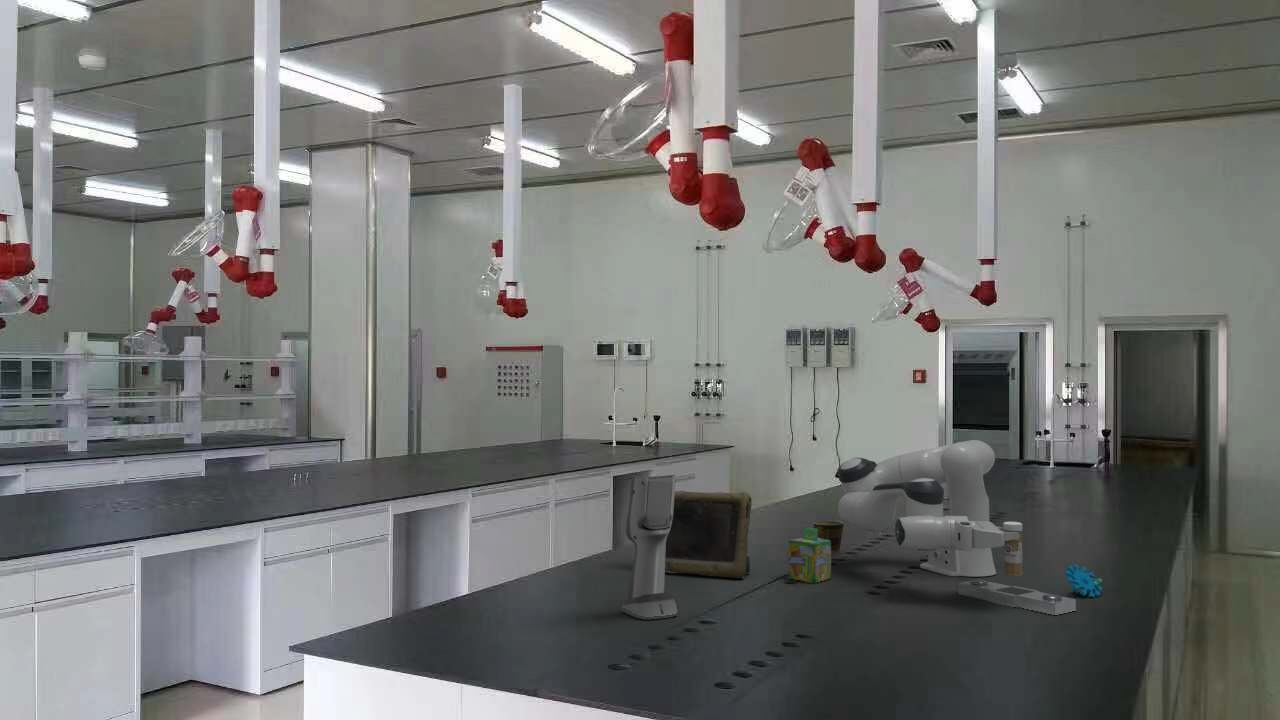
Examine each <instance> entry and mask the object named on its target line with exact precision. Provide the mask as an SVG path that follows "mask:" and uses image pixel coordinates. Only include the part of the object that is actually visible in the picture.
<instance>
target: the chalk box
mask: <svg viewBox="0 0 1280 720" xmlns="http://www.w3.org/2000/svg"><path fill="white" fill-rule="evenodd" d="M809 533H813V536H809ZM789 578H790V579H796V580H801V581H800V582H802V581H806V582H805V583H807V582H811V583H810V584H812V583H815V584H817V582H818V583H821V582H820V581H822V582H824V580H825V581H828V580H827V579H829V580H832V554H831V541H830V540H827V539H821V538H818V529H816V528H814V527H804V531H803V534H802V537H800V538H798V537H797V538H793V539H789V540H788V579H789ZM796 580H795V581H796Z"/></svg>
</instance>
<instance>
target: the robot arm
mask: <svg viewBox="0 0 1280 720" xmlns="http://www.w3.org/2000/svg"><path fill="white" fill-rule="evenodd" d="M995 454H996V453H995V452H994V449H993V448H992V447H991V446H990V445H989V444H988V443H985V442H984V441H982V440H978V439H971V440H965V441H958V442H954V443H951V444H947V445H942V446H937V447H932V448H925V449H922V450H917V451H913V452H908V453H903V454H900V455H899V454H898V455H895V456H891V457H889V458H886V459H884V460H882V461H879V462H877V463H876V461H873V460H869V459H867V458H863V457H853V458H850V459H848V460H845V461H844V462H842V463H841V464H840V466H839V467H838V469H837V476H838V480H839V482H840V483H841V487H842V490H843V493H844V495H843V496H842V497H841V498H840V499H839V501H838V504H837V505H838V506H837V510H838V514H839V516H840V518H841V519H842V520H843V522H846V523H847V524H849V525H851V526H852V527H855V528H857V529H859V530H863V531H866V532H872V533H873V532H874V533H877V532H882V531H884V530H886V529H888V528H889V527H890V525H892V523H893V522H894V520H895V517H896V514H897V513H896V512H897V505H898V502H899V499H900V497H905V509H906V511H905V512H906V513H905V516H903V517H898V518H897V520H896V523H895V527H894V531H895V532H894V534H895V538H896V542H897V544H898V545H899V546H900V547H903V548H908V549H915V550H916V549H917V550H919V551H928V553H927V554H928V555H927V561H925V562H922V563H920V565H919V568H920V569H924V570H927V571H930V572H935V573H937V574H941V575H945V576H949V577H989V576H990V577H991V576H995V575H997V570H996V567H995V563H994V558H993V552H992V549H994V548H996V549H997V548H1001V547H1002V548H1003V547H1004V541H1007V540H1018V539H1019V533H1018V532H1004V529H1003V526H996V525H995V524H994V523H993V522H991V521H990V499H989V496H988V495H987V491H986V487H985V486H986V485H985V482H984V475H985V474H987V473H988V472H989V471H991V469H992V468H993V466H994V464H995V461H996V455H995ZM942 484H946V486H947V490H948V496H949V515H944V497H945V488H944V487H943V486H942Z"/></svg>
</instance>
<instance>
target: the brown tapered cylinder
mask: <svg viewBox="0 0 1280 720" xmlns="http://www.w3.org/2000/svg"><path fill="white" fill-rule="evenodd" d="M812 524H813V525H812V526H813V528H816V529H818V538H821V539H827V540H830V541H831V553H837V552H839V553H840V552H841V551H840V550H841V542H842V535H843V531H844V521H840V520H826V519H825V520H816V521H813V522H812ZM837 554H838V553H837Z"/></svg>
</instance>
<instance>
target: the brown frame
mask: <svg viewBox="0 0 1280 720" xmlns="http://www.w3.org/2000/svg"><path fill="white" fill-rule="evenodd" d="M751 512H752V496H751V495H750V493H749V492H747V491H745V490H744V491H740V492H722V491H717V492H700V491H698V492H697V491H696V492H695V491H685V490H675V496H674V511H673V519H672V524H671V529H670V531H669V534H668V536H667V539H666V552H665V571H670V572H679V573H678V574H685V573H689V574H690V575H698V574H699V576H705V575H711V576H714V577H716V576H720V577H719V578H729V577H731V579H733V578H741V579H743V577H745V576H747V574H748V573H749V572H750V573H751V569H750V561H751V560H750V557H749V556H748V535H749V529H750V527H749V526H750V521H751V514H752V513H751ZM689 574H688V575H689ZM711 576H710V577H711ZM745 578H746V577H745Z"/></svg>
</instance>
